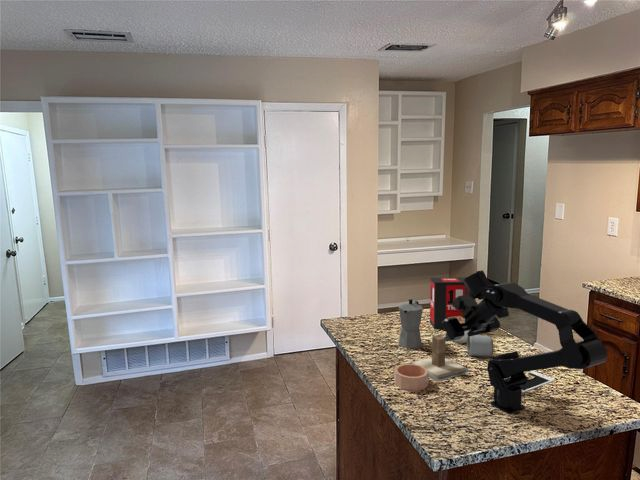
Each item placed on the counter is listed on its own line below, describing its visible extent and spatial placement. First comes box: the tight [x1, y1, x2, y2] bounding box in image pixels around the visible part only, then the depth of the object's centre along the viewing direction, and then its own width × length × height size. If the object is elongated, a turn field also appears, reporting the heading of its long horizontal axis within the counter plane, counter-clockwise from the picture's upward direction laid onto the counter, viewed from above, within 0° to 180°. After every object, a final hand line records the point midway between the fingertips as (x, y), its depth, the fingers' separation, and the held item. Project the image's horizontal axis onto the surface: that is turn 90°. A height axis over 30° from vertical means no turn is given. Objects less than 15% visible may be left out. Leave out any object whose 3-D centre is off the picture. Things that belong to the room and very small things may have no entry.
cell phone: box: [520, 370, 556, 394], centre depth 139 cm, size 8×16×1 cm, turn 119°
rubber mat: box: [409, 362, 472, 382], centre depth 149 cm, size 15×15×1 cm
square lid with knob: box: [411, 334, 466, 379], centre depth 148 cm, size 12×12×10 cm
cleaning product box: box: [429, 276, 476, 330], centre depth 191 cm, size 16×9×20 cm, turn 88°
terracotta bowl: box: [393, 363, 429, 392], centre depth 138 cm, size 10×10×4 cm
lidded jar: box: [445, 316, 469, 344], centre depth 175 cm, size 11×11×9 cm
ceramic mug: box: [466, 334, 494, 358], centre depth 161 cm, size 11×8×8 cm
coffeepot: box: [398, 298, 424, 349], centre depth 170 cm, size 15×9×18 cm, turn 150°
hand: (457, 337), depth 140 cm, fingers open, 9 cm apart
